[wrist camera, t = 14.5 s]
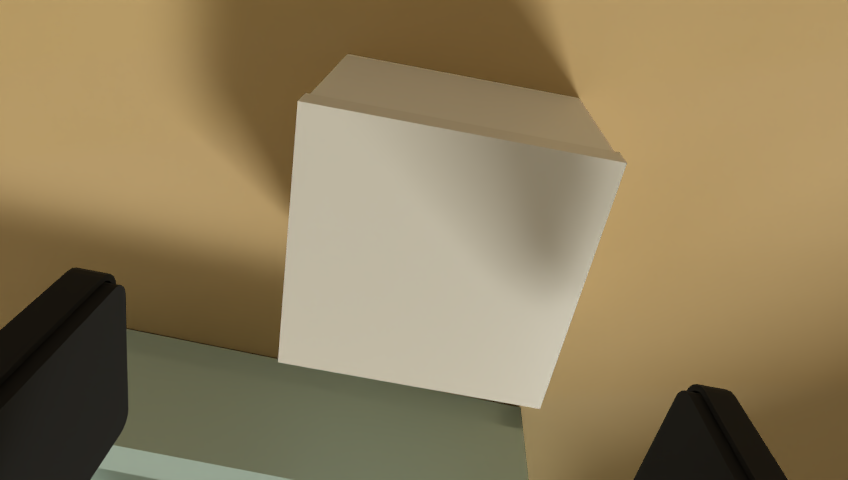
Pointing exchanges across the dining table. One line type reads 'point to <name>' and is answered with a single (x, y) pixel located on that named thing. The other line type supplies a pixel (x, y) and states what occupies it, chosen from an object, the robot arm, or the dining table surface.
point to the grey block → (440, 229)
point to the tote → (297, 423)
